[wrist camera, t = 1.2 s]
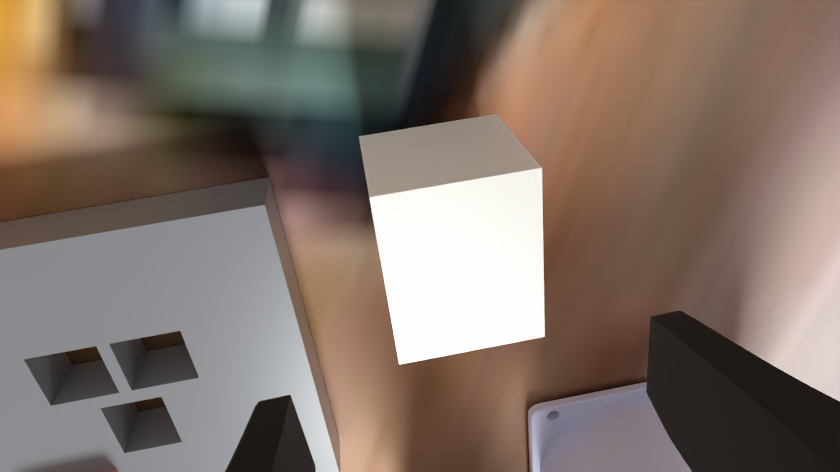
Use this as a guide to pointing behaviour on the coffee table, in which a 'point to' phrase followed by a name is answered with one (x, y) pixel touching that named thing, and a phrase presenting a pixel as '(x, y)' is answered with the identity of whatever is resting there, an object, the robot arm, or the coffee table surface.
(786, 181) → the coffee table surface
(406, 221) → the white rectangular box
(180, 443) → the socket
